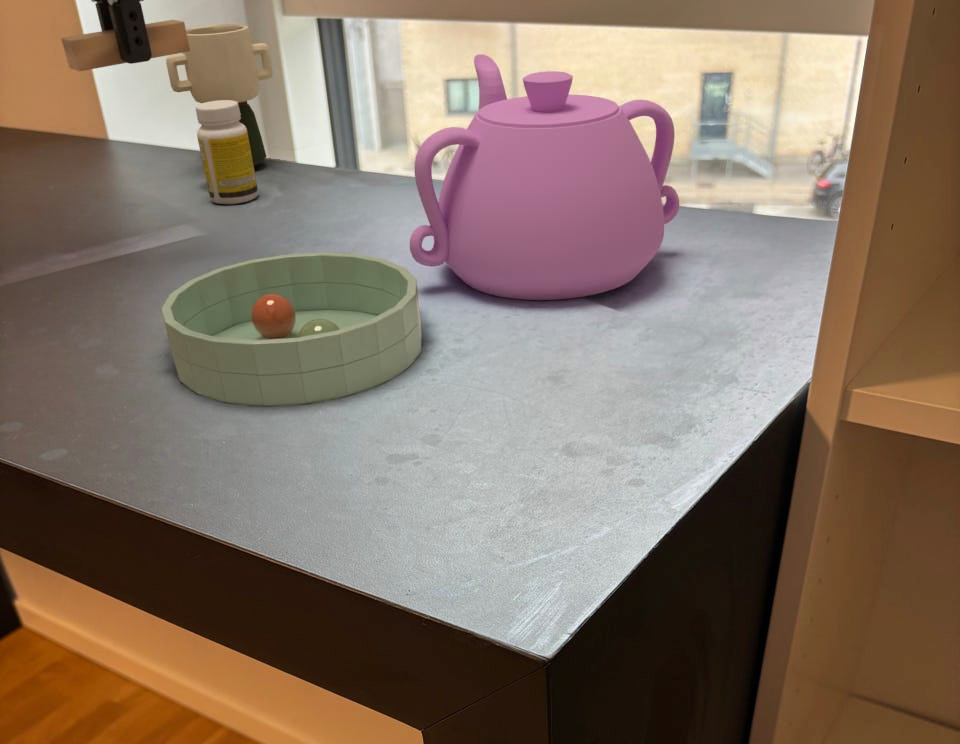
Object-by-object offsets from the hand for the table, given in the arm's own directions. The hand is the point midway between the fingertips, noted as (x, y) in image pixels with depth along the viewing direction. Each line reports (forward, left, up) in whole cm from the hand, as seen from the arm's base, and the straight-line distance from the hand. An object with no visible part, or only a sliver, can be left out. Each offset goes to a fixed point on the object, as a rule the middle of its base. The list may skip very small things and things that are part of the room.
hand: (130, 59), depth 77 cm
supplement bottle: (+12, +13, -15) cm, 24 cm away
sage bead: (-3, -30, -14) cm, 33 cm away
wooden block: (0, 0, 0) cm, 0 cm away
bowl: (-3, -27, -15) cm, 31 cm away
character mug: (+18, +24, -15) cm, 34 cm away
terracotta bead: (-3, -23, -14) cm, 28 cm away
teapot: (+20, -24, -15) cm, 34 cm away
